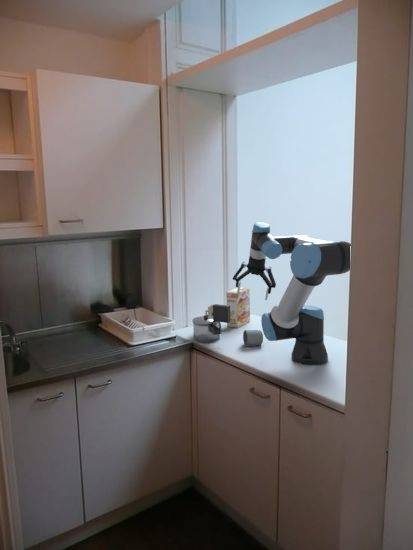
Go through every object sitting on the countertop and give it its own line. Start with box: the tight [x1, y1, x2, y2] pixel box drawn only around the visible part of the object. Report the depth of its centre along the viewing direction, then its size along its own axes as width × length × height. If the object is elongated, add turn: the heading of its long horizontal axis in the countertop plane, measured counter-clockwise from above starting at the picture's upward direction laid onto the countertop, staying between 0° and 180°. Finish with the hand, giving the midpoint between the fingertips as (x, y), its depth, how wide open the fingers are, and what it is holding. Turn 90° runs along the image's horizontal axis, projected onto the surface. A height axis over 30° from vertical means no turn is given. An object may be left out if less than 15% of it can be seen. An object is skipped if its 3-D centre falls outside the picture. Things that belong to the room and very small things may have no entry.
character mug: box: [204, 304, 222, 330], centre depth 242 cm, size 11×7×13 cm, turn 113°
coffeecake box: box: [225, 286, 251, 329], centre depth 251 cm, size 15×7×20 cm, turn 147°
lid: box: [192, 303, 231, 325], centre depth 223 cm, size 20×14×9 cm
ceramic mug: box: [242, 329, 264, 347], centre depth 216 cm, size 11×8×8 cm
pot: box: [192, 322, 222, 344], centre depth 225 cm, size 25×13×9 cm, turn 24°
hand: (252, 295), depth 215 cm, fingers open, 13 cm apart
